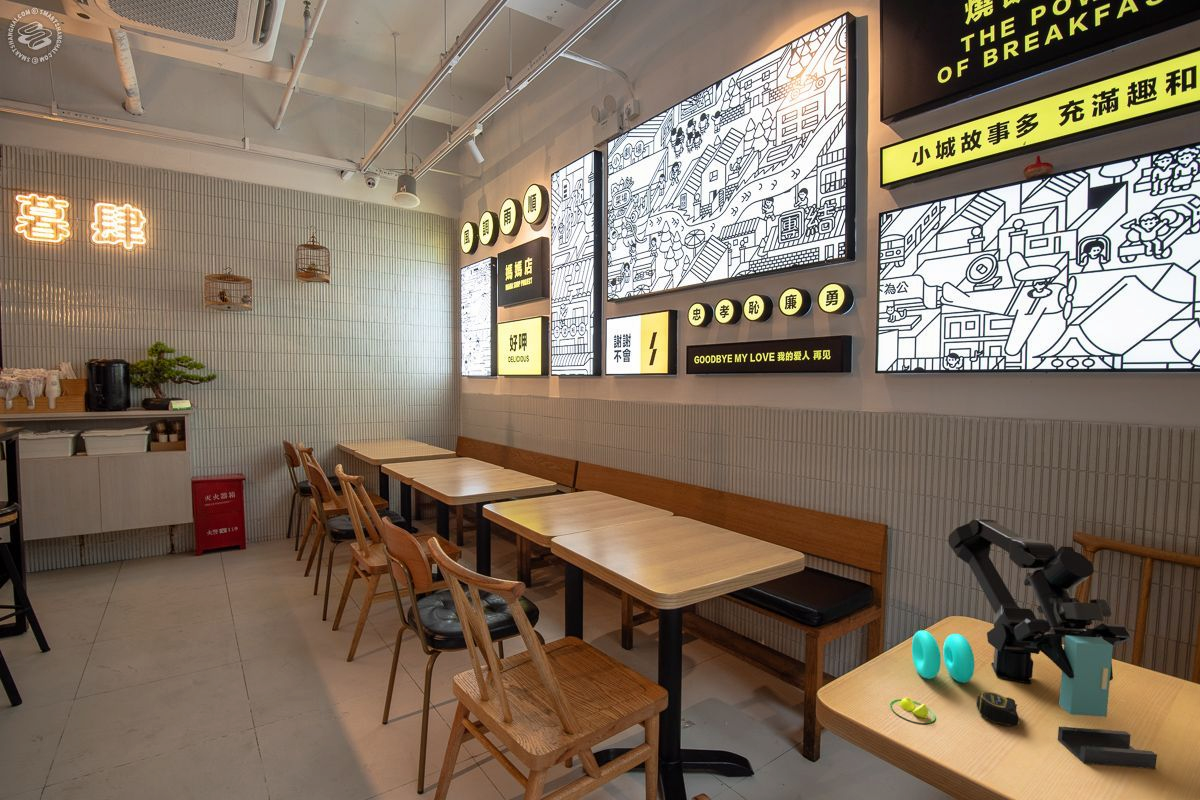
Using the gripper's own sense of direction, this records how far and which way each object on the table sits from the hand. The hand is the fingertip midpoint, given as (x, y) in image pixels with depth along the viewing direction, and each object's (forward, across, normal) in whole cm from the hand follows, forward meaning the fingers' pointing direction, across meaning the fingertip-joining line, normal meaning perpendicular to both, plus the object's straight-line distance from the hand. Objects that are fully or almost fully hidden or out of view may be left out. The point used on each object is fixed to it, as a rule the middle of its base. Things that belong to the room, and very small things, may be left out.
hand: (1091, 678), depth 109 cm
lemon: (+5, -30, +12) cm, 33 cm away
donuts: (-5, -17, +22) cm, 28 cm away
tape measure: (+5, -13, +12) cm, 18 cm away
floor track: (+11, 0, +5) cm, 12 cm away
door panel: (+4, 0, +6) cm, 7 cm away
